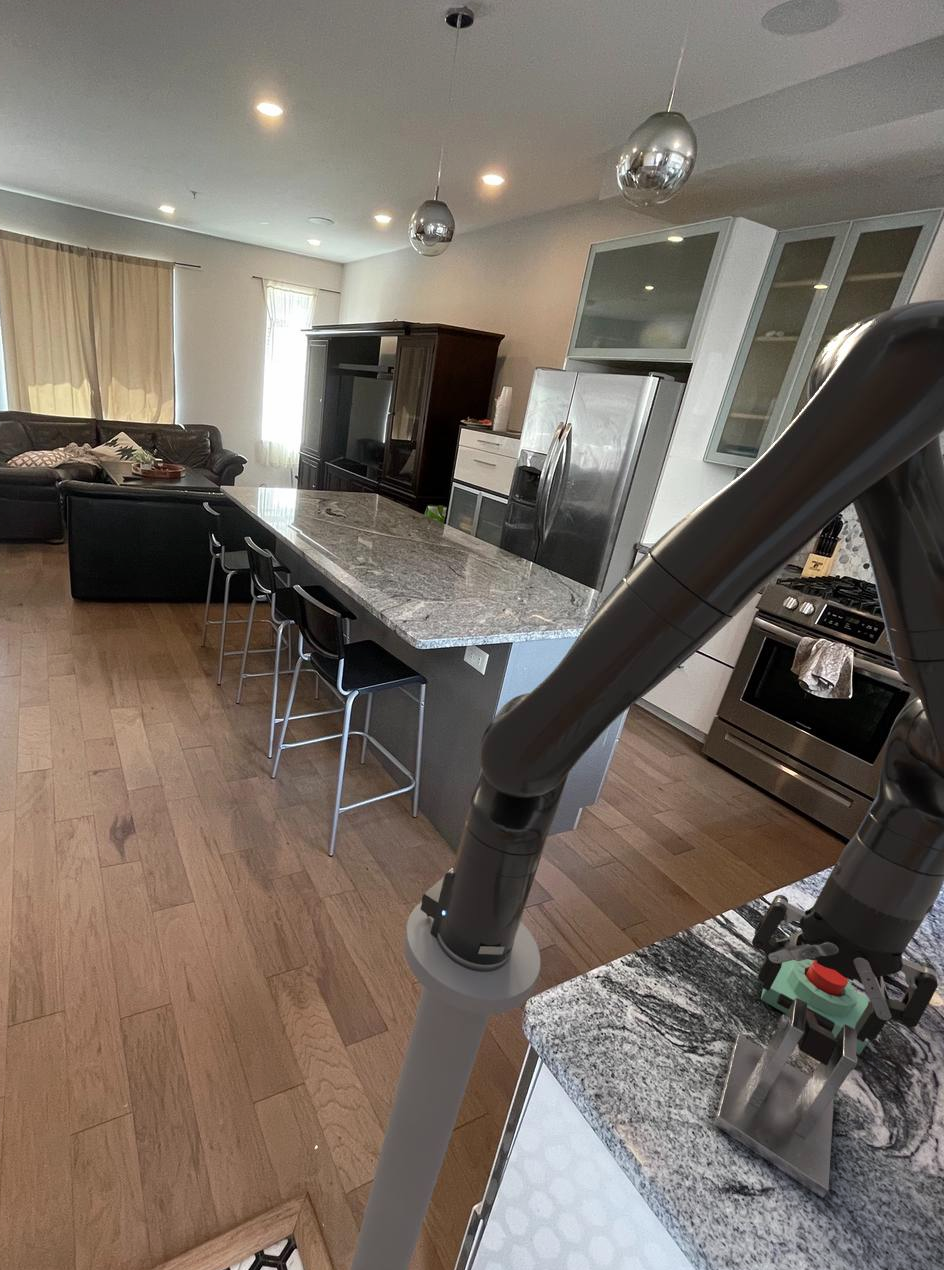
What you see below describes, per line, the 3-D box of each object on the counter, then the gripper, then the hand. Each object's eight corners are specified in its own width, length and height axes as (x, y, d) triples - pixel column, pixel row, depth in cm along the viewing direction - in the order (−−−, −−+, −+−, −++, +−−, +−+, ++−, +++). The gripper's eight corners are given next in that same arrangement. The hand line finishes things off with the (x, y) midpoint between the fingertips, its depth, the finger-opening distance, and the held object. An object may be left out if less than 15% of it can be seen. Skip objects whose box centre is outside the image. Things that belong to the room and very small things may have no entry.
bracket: (734, 1041, 69) (777, 962, 65) (829, 1098, 64) (882, 1017, 60) (713, 1124, 60) (762, 1039, 55) (822, 1198, 55) (885, 1111, 51)
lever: (773, 1006, 69) (782, 986, 69) (826, 1036, 66) (836, 1015, 66) (782, 1040, 59) (792, 1016, 58) (845, 1077, 56) (856, 1052, 56)
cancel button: (805, 983, 74) (811, 972, 73) (807, 965, 77) (813, 954, 76) (840, 1002, 72) (847, 991, 71) (841, 983, 75) (848, 972, 74)
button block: (760, 999, 75) (773, 975, 74) (768, 962, 81) (780, 938, 80) (859, 1055, 70) (875, 1030, 68) (860, 1010, 76) (875, 986, 75)
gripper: (969, 909, 59) (891, 1029, 66) (798, 836, 67) (742, 950, 73) (979, 952, 54) (893, 1080, 60) (791, 868, 61) (731, 989, 67)
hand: (810, 1008), depth 66 cm, fingers open, 8 cm apart
